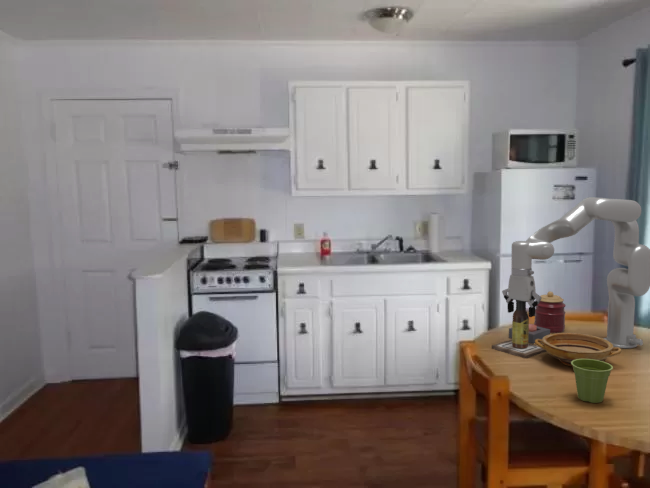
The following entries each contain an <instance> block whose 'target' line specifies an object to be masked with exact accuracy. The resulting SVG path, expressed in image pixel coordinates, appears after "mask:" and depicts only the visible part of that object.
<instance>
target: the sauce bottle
mask: <svg viewBox="0 0 650 488" xmlns="http://www.w3.org/2000/svg"><path fill="white" fill-rule="evenodd" d="M515 303H516V304H515V309H514V311H513V312H512V325H511V326H512V327H511V328H512V338H511V340H512V346H513V347H515V348H527V347H528V334H529V324H530V317H529V313H528V311H527V302H524V301H520V300H515Z"/></svg>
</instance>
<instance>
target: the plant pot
mask: <svg viewBox="0 0 650 488" xmlns="http://www.w3.org/2000/svg"><path fill="white" fill-rule="evenodd" d="M571 364H572V365H573V366H572V369H573V372H574V377H575V385H576V393H577V398H578V400H581V401H583V402H589V403H592V404H596V403H598V404H599V403H602V402H603V401H604V397H605V394H606V389H607V384H608V380H609V377H610V376H611V375H610V374H611V372H612V371H613V368H614V367H613V365H612V364H610V363H608V362H605V361H599V360H594V359H576V360H573V361H572V362H571Z"/></svg>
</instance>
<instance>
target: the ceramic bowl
mask: <svg viewBox="0 0 650 488" xmlns="http://www.w3.org/2000/svg"><path fill="white" fill-rule="evenodd" d="M535 345H537V346H539V347H541V348H543V349H545V350H546V352H547V353H548V355H550V356H551V357H553V358H554V359H556V360H557V359H558V360H559V361H560V362H561V364H563V365H565V366H569V367H573V365H572V364H571V362H572V361H573V360H576V359H594V360H599V361H603V362H605V360H607V359H608V358H611V357H614V356H618V355H620V354H621V352H622V348H619V347H613V344H612V343H611V342H609V341H607V340H605V339H603V338H602V337H600V336H595V335H591V334H586V333H585V334H584V333H578V332H576V333H575V332H561V333H550V334H549V335H546V336H544V337H543V338H542V340H541V339H536V340H535Z"/></svg>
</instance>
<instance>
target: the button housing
mask: <svg viewBox="0 0 650 488" xmlns="http://www.w3.org/2000/svg"><path fill="white" fill-rule="evenodd" d="M549 334H551V333H550V329H546V328H542V327H538V326H537V331H534V332H529V334H528V342H529V344H533V345H535V344H536V343H535V340H536V339H541V340H542V338H543V337H544V336H546V335H549ZM508 338H509V339H510V338H511V339H512V327H510V328H508ZM534 343H535V344H534Z"/></svg>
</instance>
